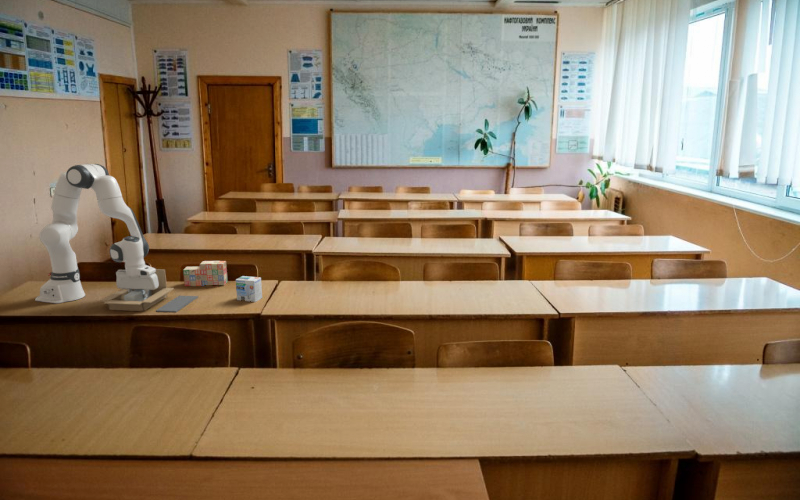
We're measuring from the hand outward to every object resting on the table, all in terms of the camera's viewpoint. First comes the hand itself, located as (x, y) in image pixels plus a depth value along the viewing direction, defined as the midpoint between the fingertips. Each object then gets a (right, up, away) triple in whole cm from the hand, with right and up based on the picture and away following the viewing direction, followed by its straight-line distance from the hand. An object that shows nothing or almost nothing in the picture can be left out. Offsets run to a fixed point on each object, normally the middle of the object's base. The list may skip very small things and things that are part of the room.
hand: (139, 297), depth 289 cm
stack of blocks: (+23, +4, +29) cm, 37 cm away
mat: (+20, -3, -3) cm, 20 cm away
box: (0, -3, 0) cm, 3 cm away
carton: (0, -3, -1) cm, 3 cm away
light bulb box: (+53, -1, +4) cm, 53 cm away
